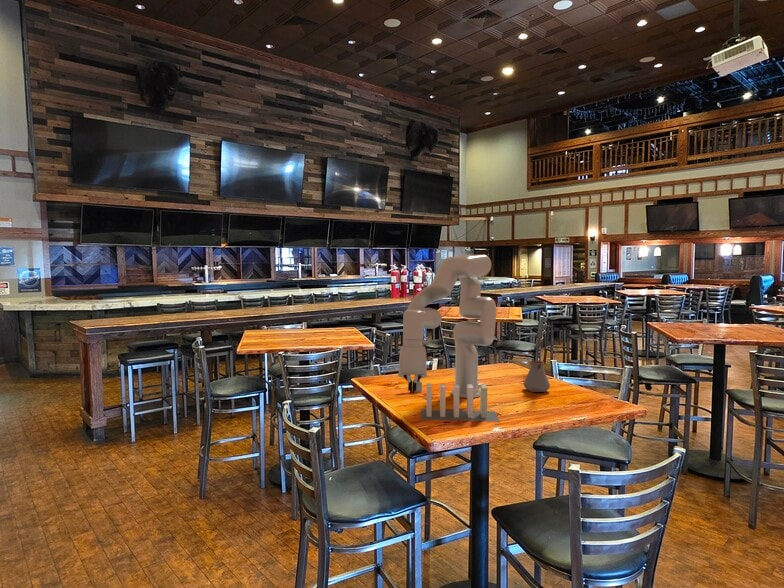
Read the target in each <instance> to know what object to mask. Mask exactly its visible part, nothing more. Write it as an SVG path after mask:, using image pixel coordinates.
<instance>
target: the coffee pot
mask: <svg viewBox="0 0 784 588" xmlns="http://www.w3.org/2000/svg"><path fill="white" fill-rule="evenodd" d="M528 363H529V365H530V368H529V371H528V373H527V375H526V377H525V379H524V382H523V387H524V388H525V389H526V390H527V391H528V390H529V391H532V392H531V393H533V392H544V393H546V392H545V391H548V390H549V389H550V387H551V384H550V381H549V378H548V377H547V373H546V371H545V369H544V366H545V362H544V361H538V360H531V361H529V362H528ZM529 391H528V392H529Z"/></svg>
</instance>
